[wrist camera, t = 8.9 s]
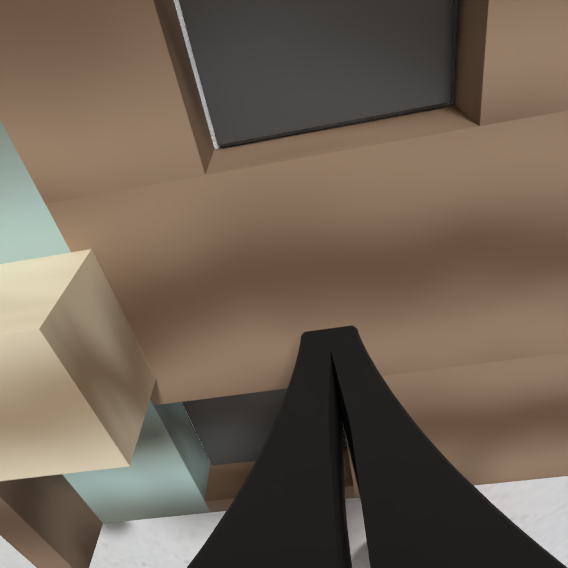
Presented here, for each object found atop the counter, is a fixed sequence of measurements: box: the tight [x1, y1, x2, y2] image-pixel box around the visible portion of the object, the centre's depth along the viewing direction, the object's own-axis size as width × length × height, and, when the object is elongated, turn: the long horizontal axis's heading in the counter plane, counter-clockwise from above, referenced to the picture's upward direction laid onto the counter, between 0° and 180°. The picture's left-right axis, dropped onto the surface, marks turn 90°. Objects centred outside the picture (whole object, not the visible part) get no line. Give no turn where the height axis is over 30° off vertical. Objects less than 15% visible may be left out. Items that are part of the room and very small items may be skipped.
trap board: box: [0, 0, 568, 568], centre depth 14 cm, size 24×26×4 cm
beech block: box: [0, 249, 156, 481], centre depth 13 cm, size 6×6×4 cm
